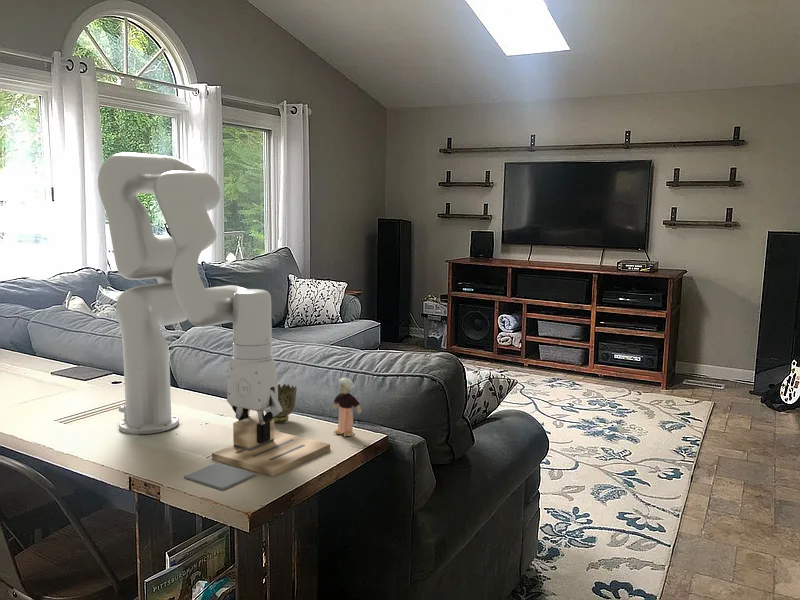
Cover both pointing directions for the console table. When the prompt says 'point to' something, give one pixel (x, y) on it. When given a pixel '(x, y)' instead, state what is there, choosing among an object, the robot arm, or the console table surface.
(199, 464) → the console table surface
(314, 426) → the console table surface
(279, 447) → the plank
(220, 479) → the mat
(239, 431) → the block
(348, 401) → the grandmother figurine
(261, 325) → the robot arm
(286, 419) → the cup
